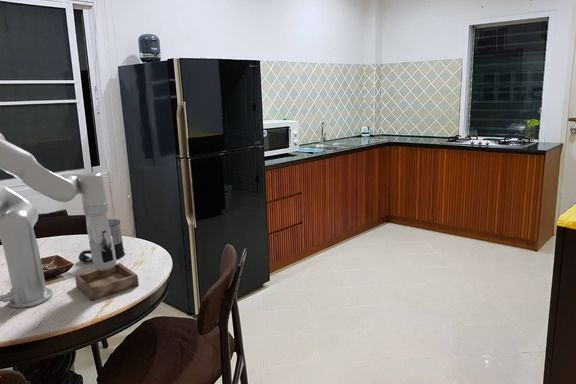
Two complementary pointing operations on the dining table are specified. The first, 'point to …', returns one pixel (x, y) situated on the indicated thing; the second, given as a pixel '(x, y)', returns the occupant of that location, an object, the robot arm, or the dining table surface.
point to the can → (97, 256)
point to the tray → (106, 282)
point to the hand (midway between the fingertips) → (103, 258)
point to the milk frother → (117, 240)
